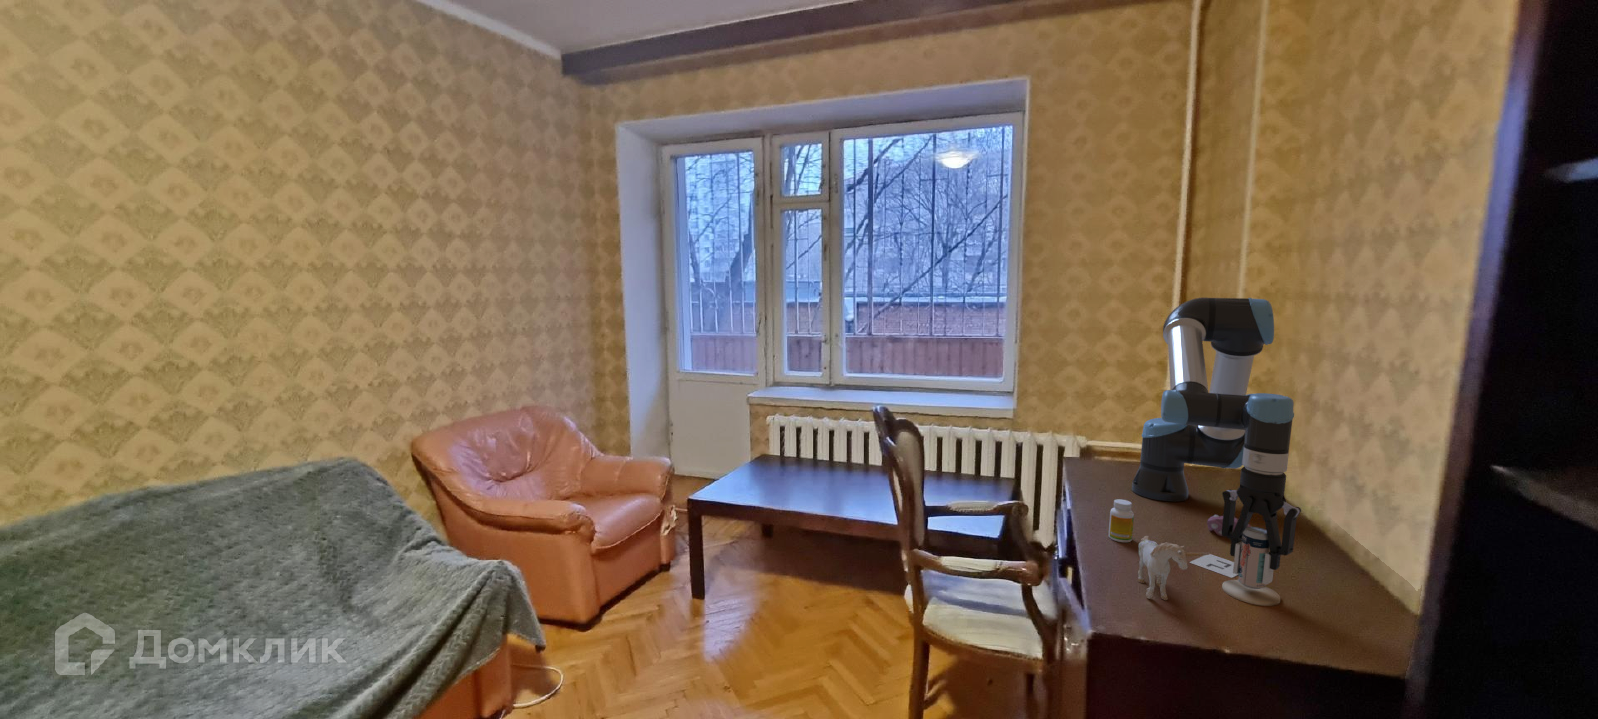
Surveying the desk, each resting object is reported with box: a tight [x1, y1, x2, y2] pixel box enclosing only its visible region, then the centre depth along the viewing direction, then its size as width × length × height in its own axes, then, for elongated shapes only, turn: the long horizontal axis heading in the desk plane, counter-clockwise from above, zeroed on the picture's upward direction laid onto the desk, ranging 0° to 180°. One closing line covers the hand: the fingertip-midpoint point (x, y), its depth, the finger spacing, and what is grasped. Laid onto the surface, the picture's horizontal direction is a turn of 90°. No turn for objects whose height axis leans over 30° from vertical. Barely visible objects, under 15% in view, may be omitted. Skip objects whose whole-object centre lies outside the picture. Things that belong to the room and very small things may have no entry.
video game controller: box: [1206, 514, 1252, 537], centre depth 164 cm, size 10×5×7 cm, turn 48°
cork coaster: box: [1221, 579, 1281, 607], centre depth 135 cm, size 10×10×1 cm
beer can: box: [1237, 526, 1270, 589], centre depth 134 cm, size 5×5×12 cm
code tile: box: [1189, 553, 1239, 579], centre depth 148 cm, size 9×9×1 cm
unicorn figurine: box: [1137, 535, 1210, 601], centre depth 133 cm, size 7×20×13 cm, turn 2°
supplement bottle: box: [1108, 498, 1135, 543], centre depth 162 cm, size 5×5×10 cm
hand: (1252, 576), depth 134 cm, fingers closed on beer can, 5 cm apart
